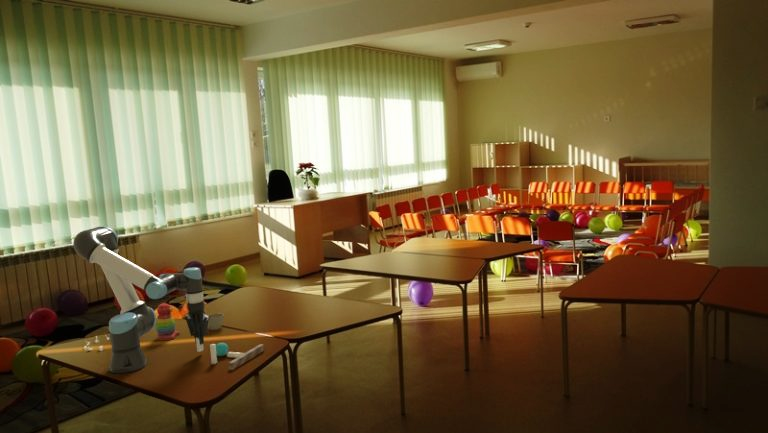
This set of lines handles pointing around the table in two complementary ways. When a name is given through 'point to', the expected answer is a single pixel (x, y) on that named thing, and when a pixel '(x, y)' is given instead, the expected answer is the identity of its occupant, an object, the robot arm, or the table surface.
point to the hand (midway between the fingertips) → (200, 350)
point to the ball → (221, 349)
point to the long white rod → (246, 357)
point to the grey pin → (213, 353)
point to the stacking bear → (165, 323)
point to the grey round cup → (215, 321)
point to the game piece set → (92, 348)
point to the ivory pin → (234, 354)
